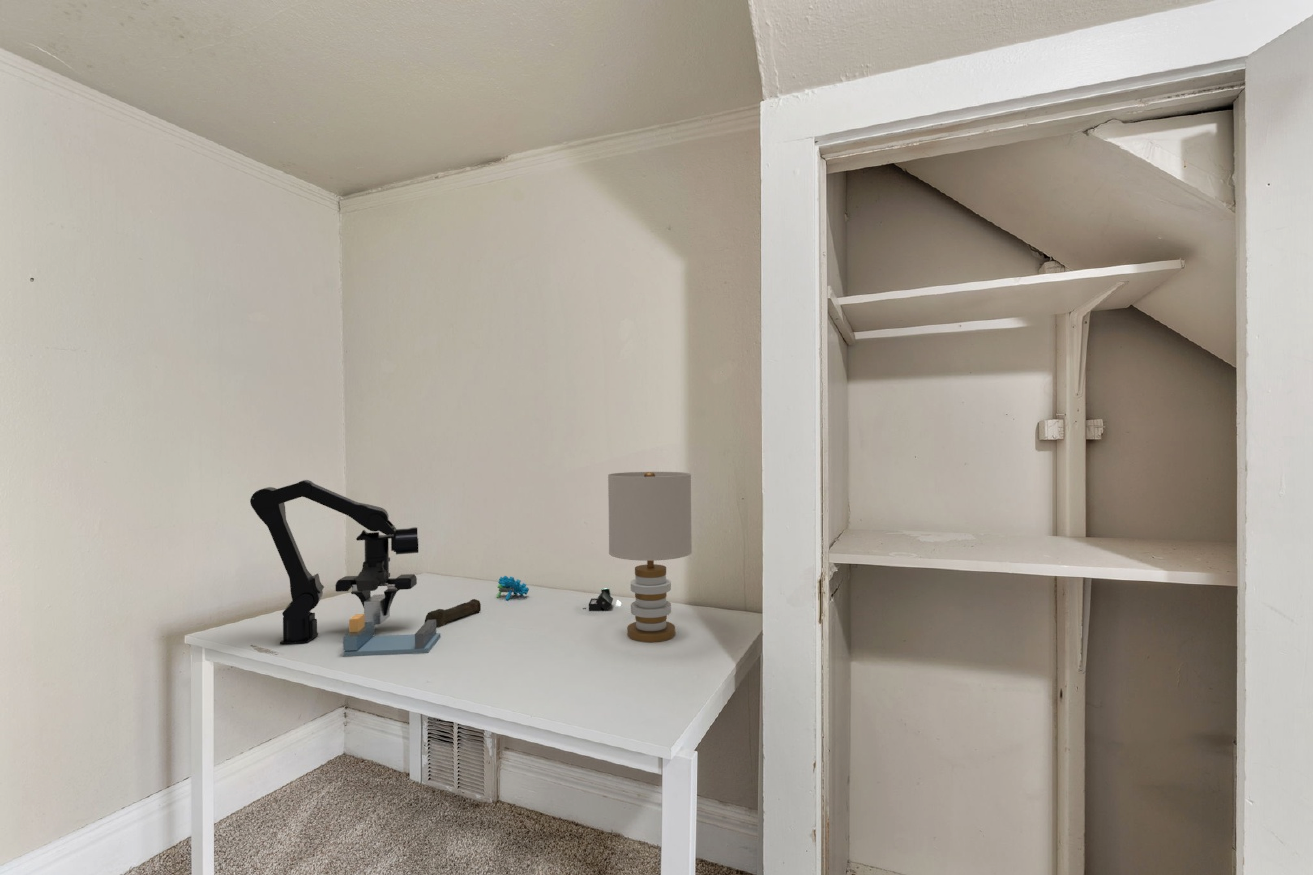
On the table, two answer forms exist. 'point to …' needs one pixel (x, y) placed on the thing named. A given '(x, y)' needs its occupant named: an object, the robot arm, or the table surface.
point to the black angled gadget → (602, 601)
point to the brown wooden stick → (453, 612)
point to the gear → (511, 587)
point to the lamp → (650, 541)
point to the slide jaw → (358, 633)
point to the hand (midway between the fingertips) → (377, 615)
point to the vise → (400, 642)
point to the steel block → (375, 609)
